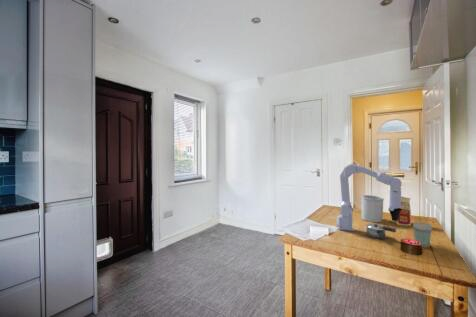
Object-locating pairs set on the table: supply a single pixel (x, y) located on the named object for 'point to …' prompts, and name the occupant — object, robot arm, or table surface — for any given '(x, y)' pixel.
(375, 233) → the pot
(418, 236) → the coffee cup
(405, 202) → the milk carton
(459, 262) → the table surface
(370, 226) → the lid
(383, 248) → the table surface
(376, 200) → the utensil holder
